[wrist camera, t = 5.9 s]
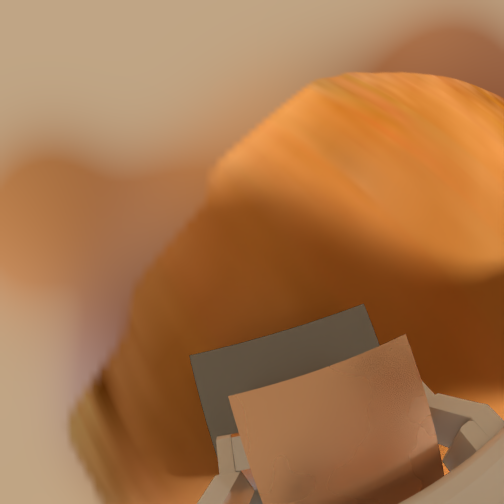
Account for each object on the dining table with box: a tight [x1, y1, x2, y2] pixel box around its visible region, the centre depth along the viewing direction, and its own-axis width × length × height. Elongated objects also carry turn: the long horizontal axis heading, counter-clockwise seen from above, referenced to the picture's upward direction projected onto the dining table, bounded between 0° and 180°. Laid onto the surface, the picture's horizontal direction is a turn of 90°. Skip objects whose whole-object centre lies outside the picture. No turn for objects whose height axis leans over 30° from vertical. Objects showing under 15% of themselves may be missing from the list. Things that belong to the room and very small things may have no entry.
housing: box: [228, 334, 444, 504], centre depth 9 cm, size 5×5×8 cm
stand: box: [189, 304, 380, 504], centre depth 15 cm, size 10×10×5 cm
